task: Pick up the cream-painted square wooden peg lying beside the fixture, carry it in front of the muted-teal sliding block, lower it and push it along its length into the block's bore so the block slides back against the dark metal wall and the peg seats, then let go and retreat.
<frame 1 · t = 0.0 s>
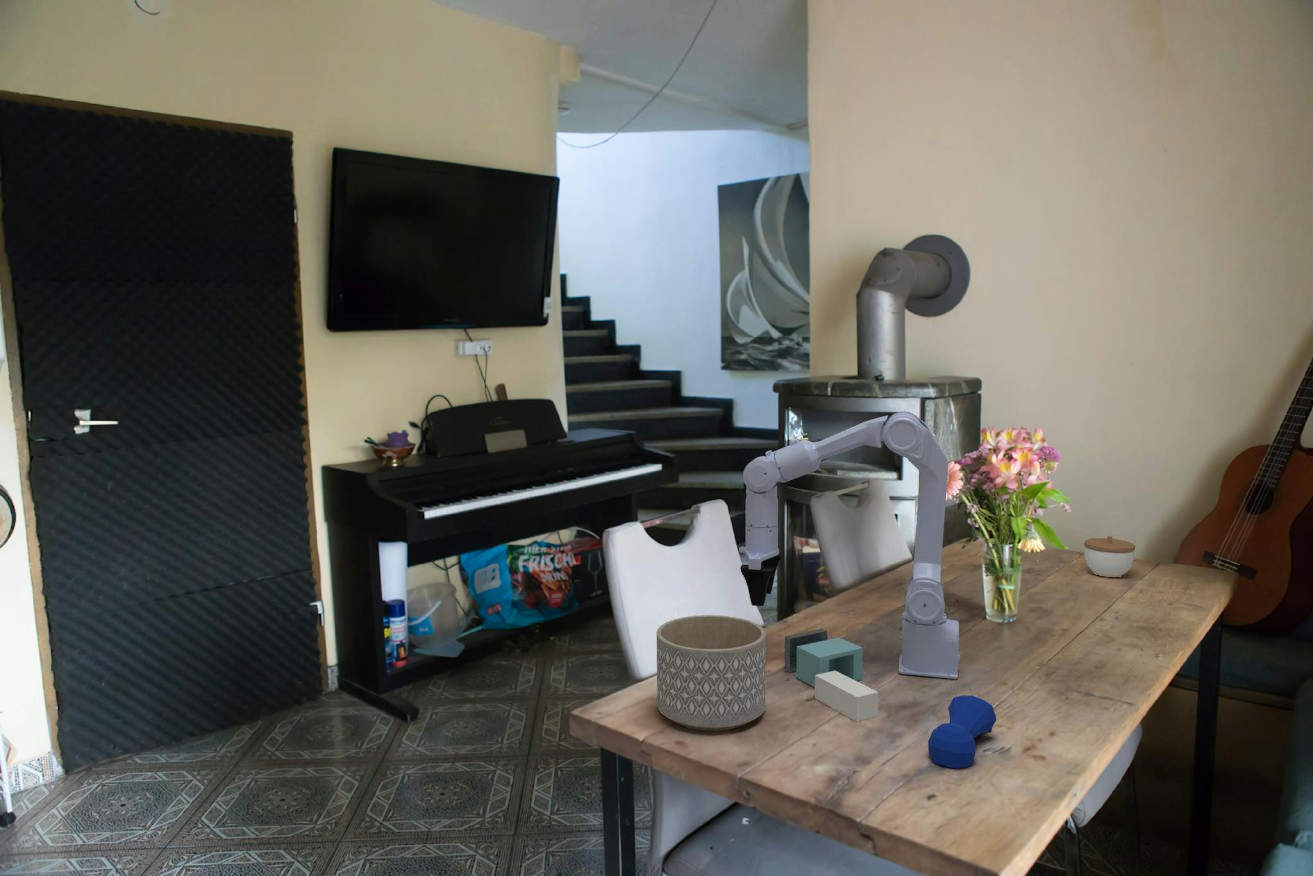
hand: (761, 599, 159), 10 cm above the table, fingers open, 7 cm apart
block: (829, 662, 148), point 3 cm above the table, slide at 0.0 cm
peg: (845, 708, 137), on the table
lidded jar: (1107, 575, 211), on the table
toy: (960, 749, 123), on the table
wall: (805, 667, 153), on the table
planter: (711, 713, 135), on the table
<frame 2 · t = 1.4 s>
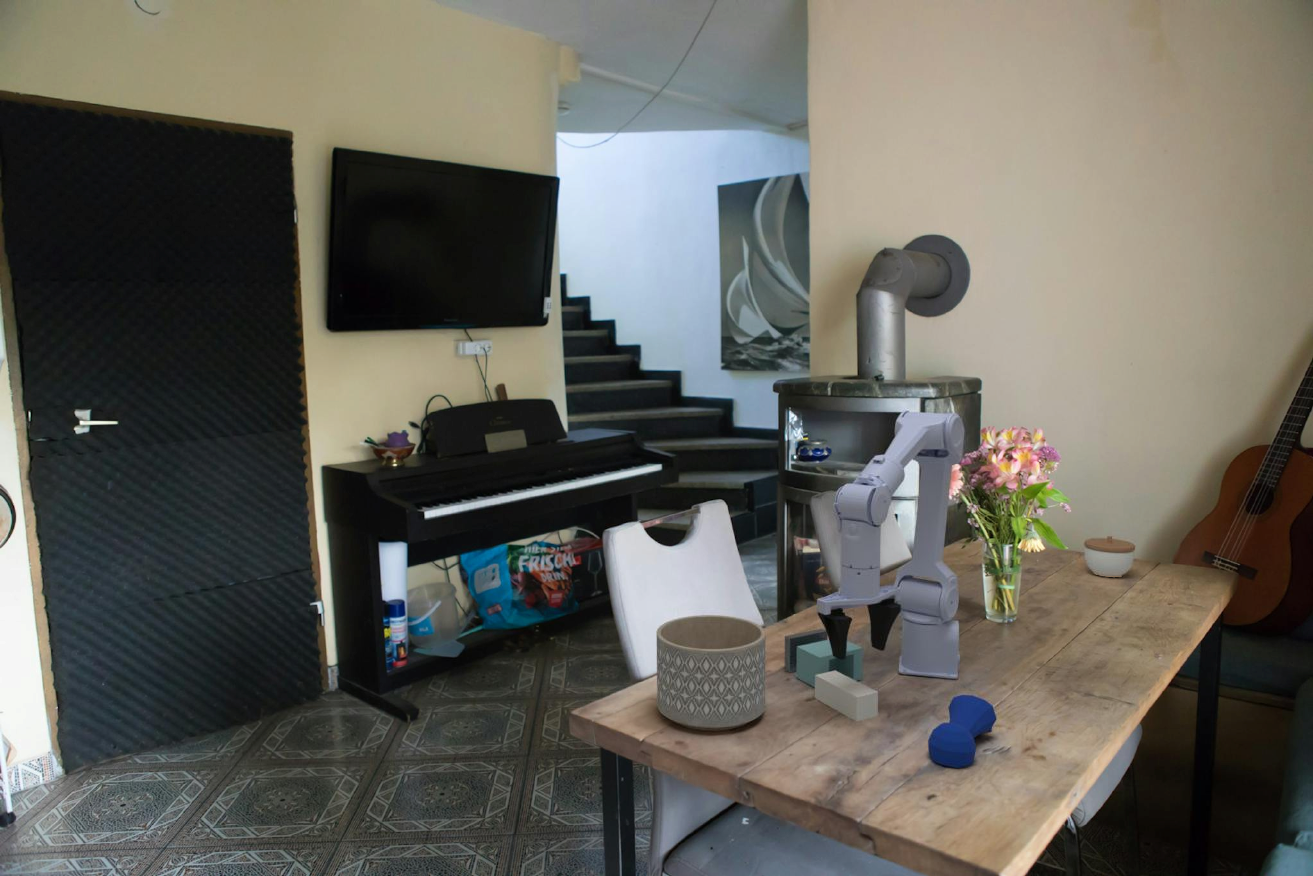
hand: (858, 653, 133), 9 cm above the table, fingers open, 7 cm apart
nothing on the table moved.
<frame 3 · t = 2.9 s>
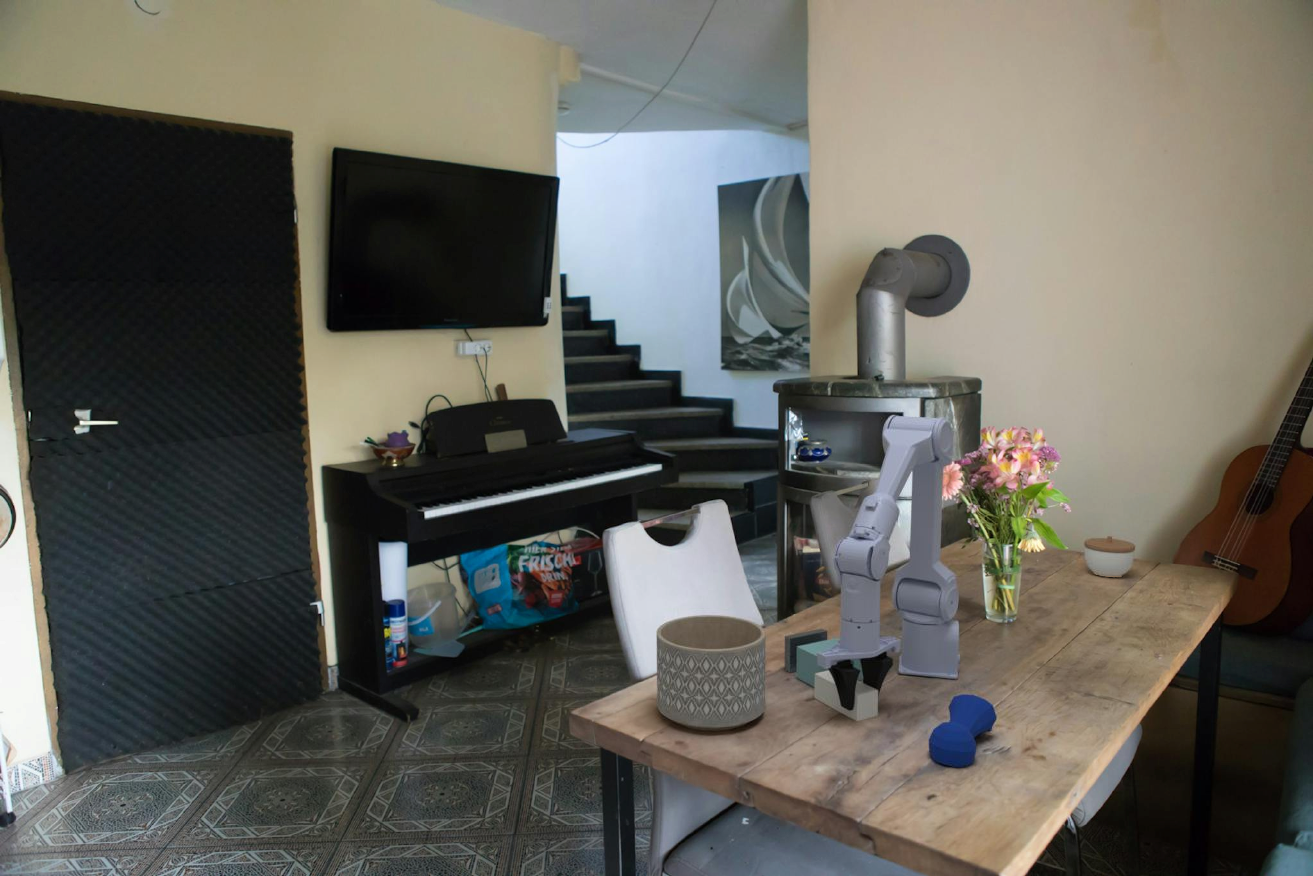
hand: (858, 704, 134), 1 cm above the table, fingers closed on peg, 4 cm apart
peg: (845, 706, 137), on the table, touching gripper
everything else where it was.
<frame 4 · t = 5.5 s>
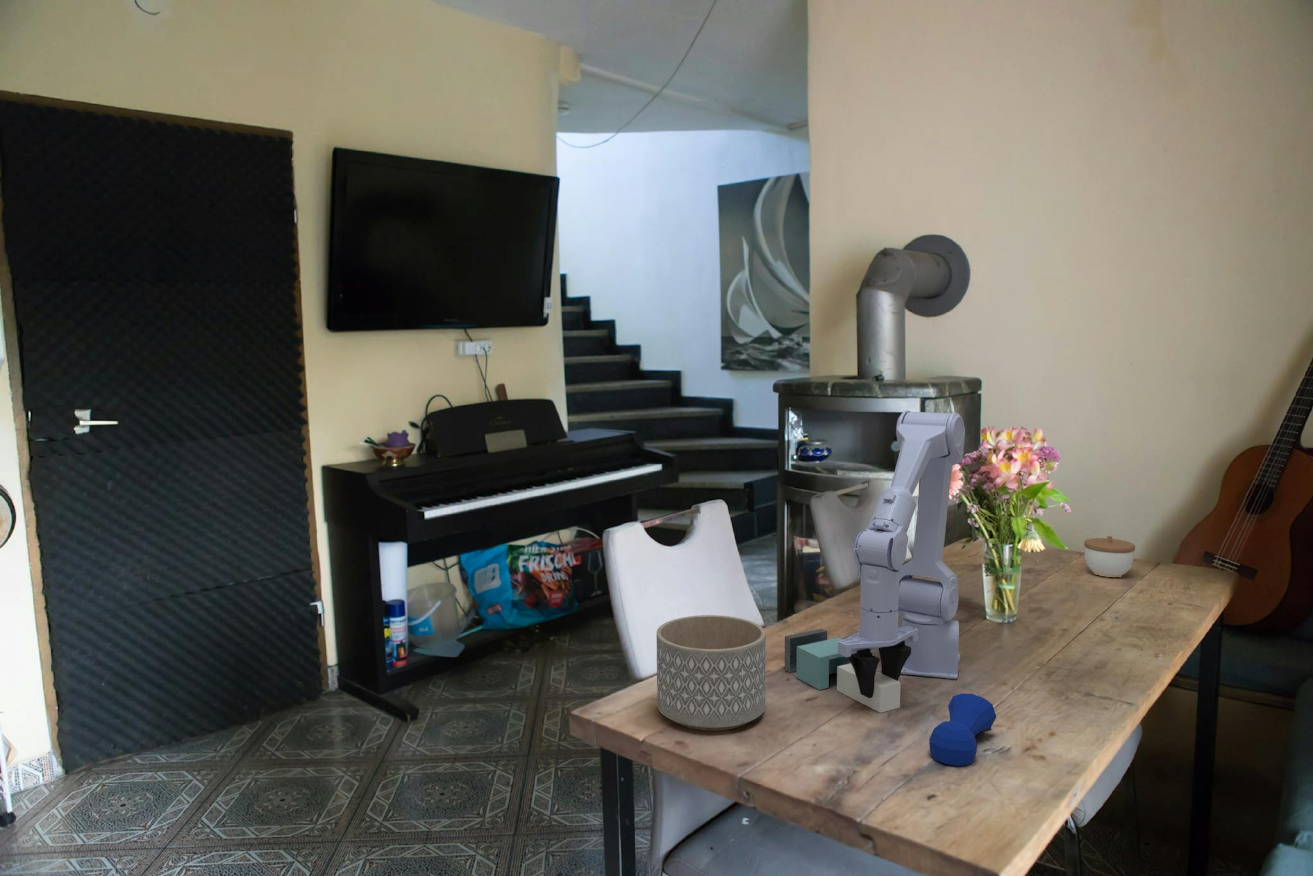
hand: (877, 692, 138), 2 cm above the table, fingers closed on peg, 4 cm apart
peg: (867, 698, 140), on the table, touching gripper
everything else where it was.
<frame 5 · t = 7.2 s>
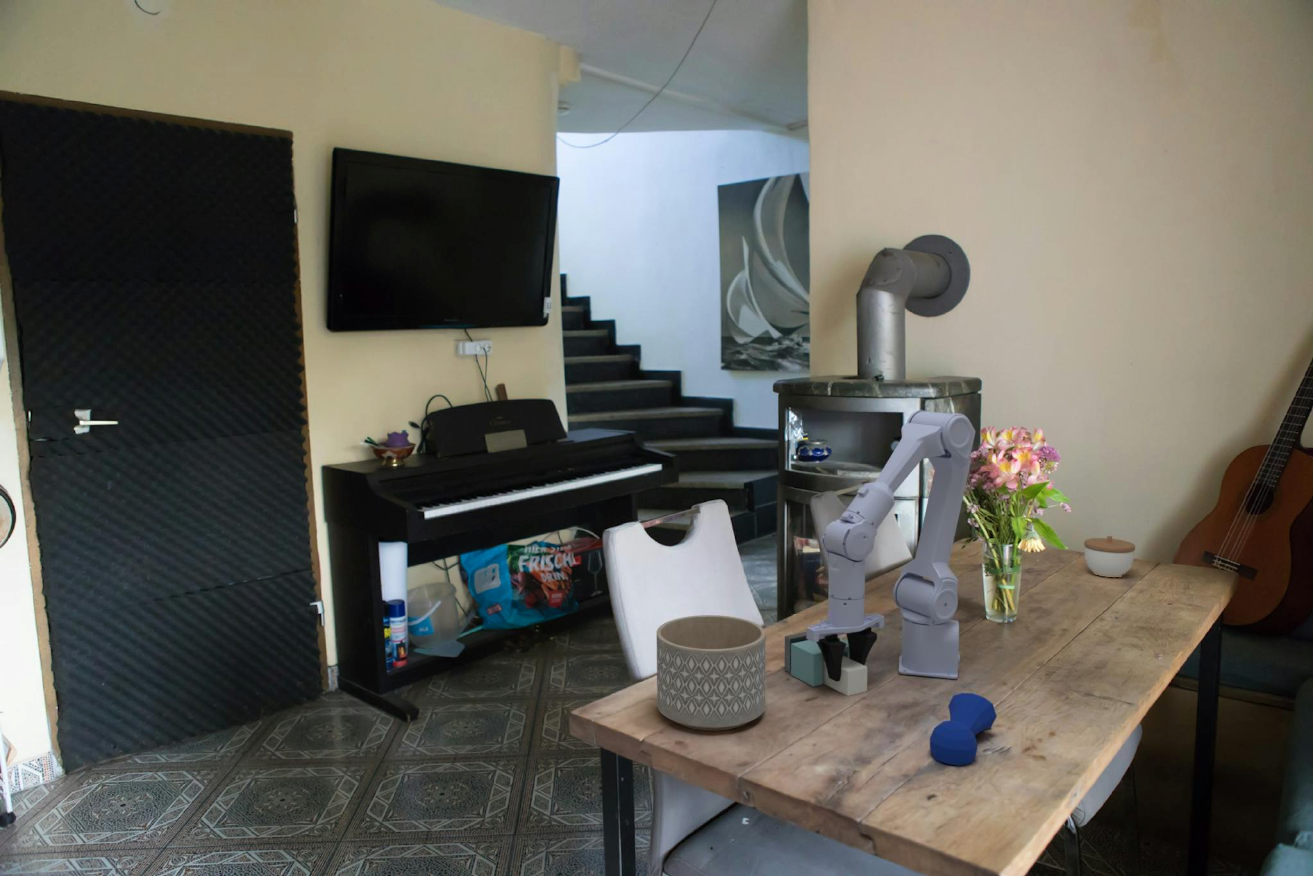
hand: (845, 676, 144), 2 cm above the table, fingers closed on peg, 4 cm apart
block: (823, 660, 149), point 3 cm above the table, slide at 1.5 cm, touching peg
peg: (836, 683, 146), on the table, touching block, gripper
everything else where it was.
when the fingers open (2 cm above the table, at t = 8.4 s): peg stays where it is, on the table.
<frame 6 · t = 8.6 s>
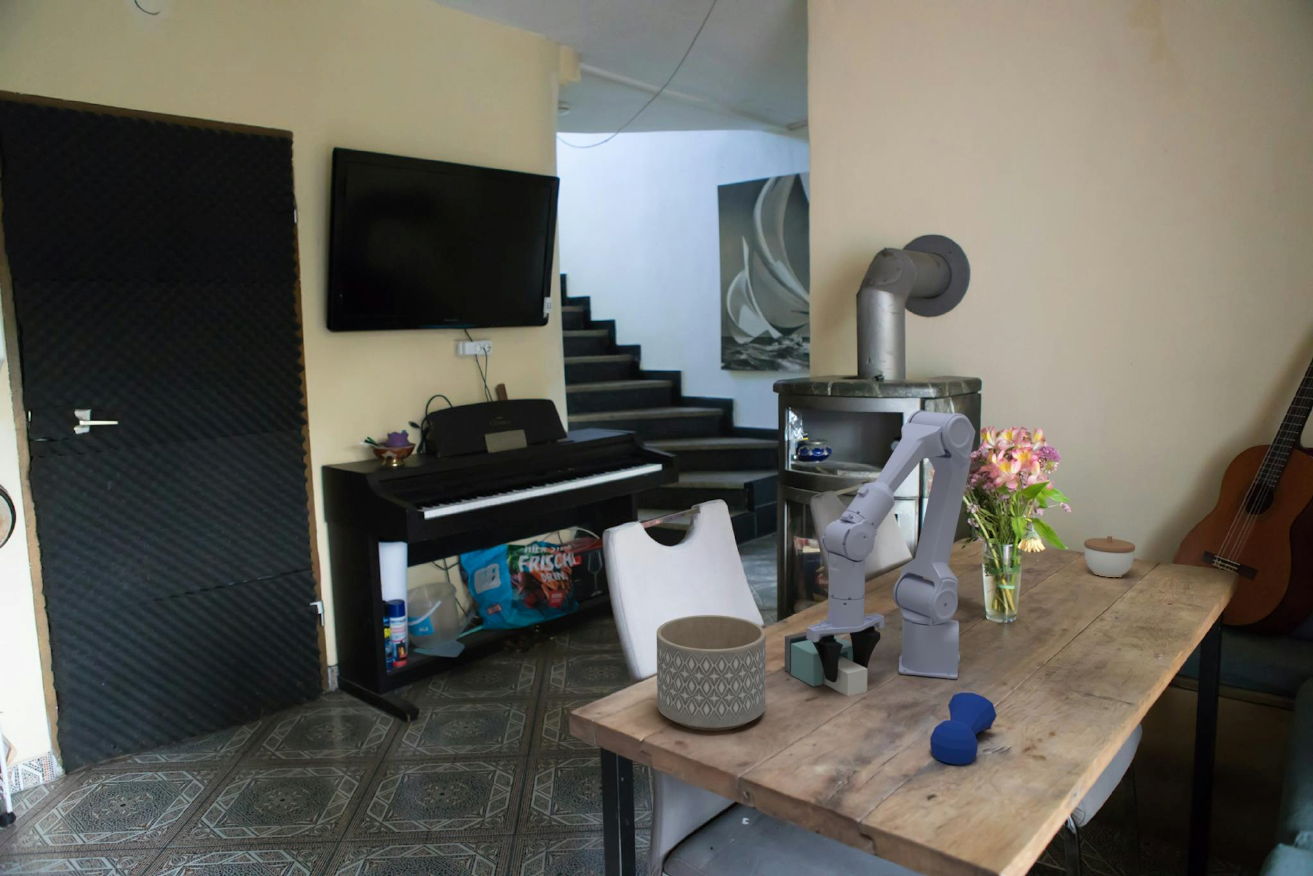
hand: (845, 676, 144), 2 cm above the table, fingers open, 5 cm apart
block: (823, 660, 149), point 3 cm above the table, slide at 1.5 cm
peg: (837, 684, 146), on the table
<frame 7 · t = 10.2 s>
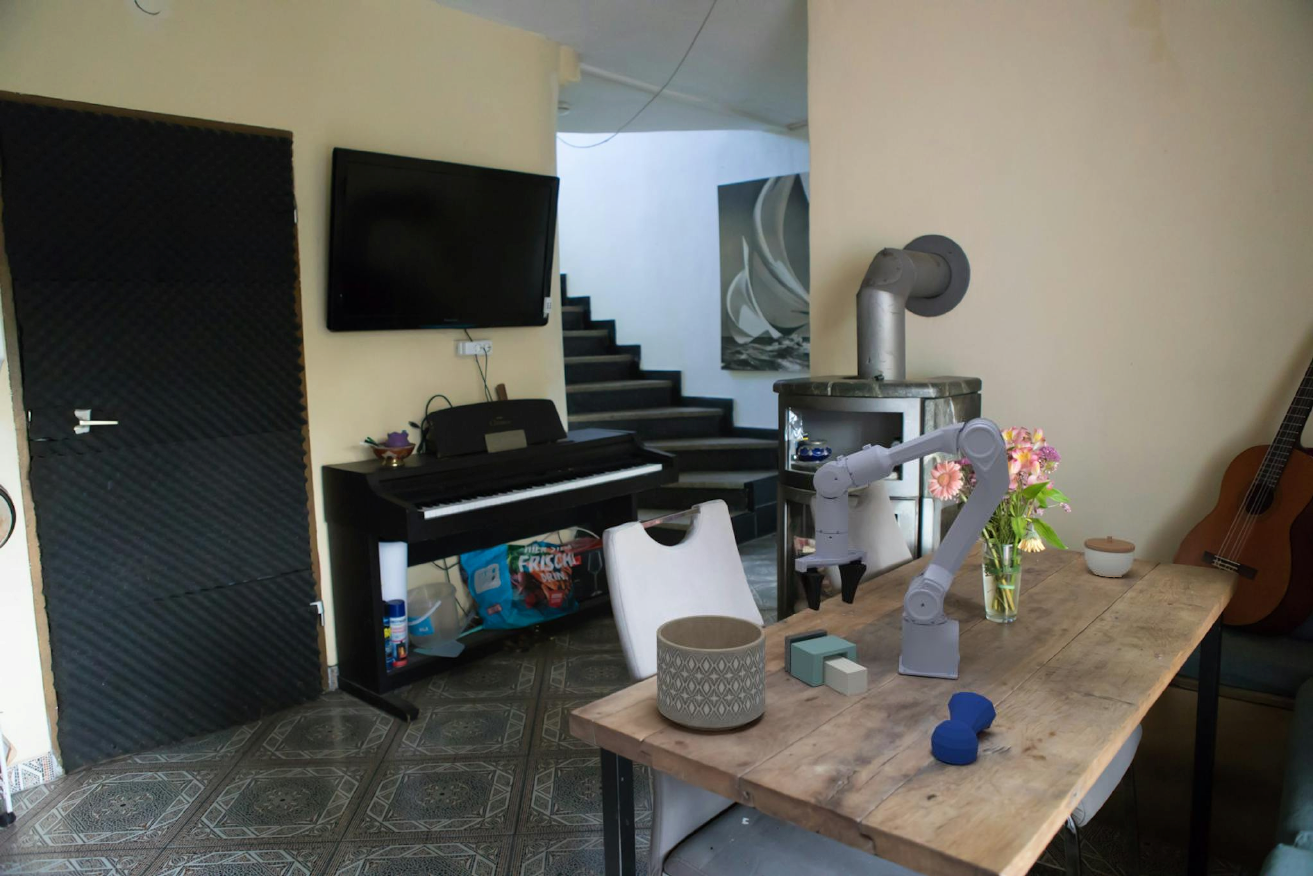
hand: (830, 606, 157), 9 cm above the table, fingers open, 7 cm apart
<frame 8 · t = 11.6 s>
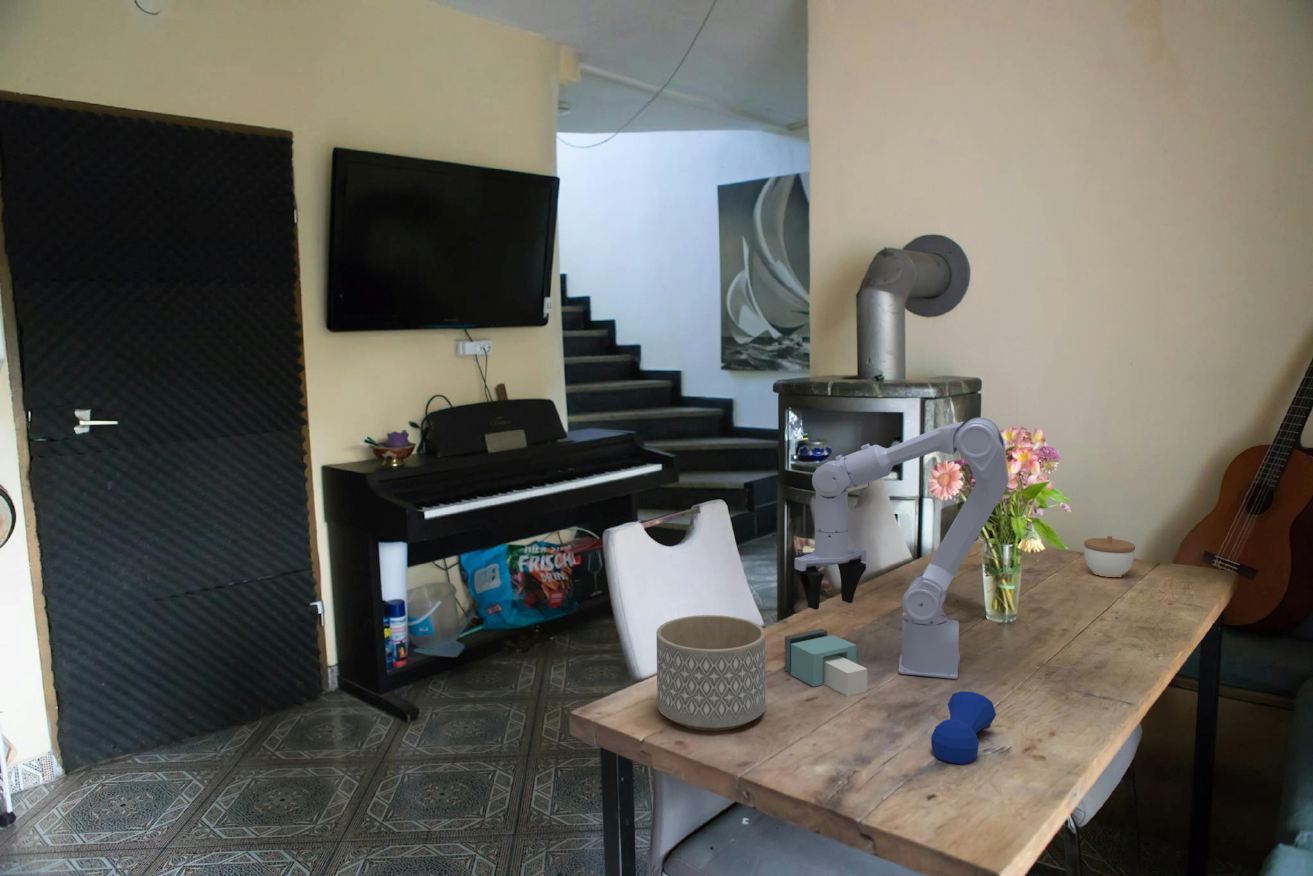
hand: (830, 604, 158), 9 cm above the table, fingers open, 7 cm apart
at the end: block slide at 1.5 cm; peg 3.5 cm from the block (horizontally); the gripper is holding nothing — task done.
